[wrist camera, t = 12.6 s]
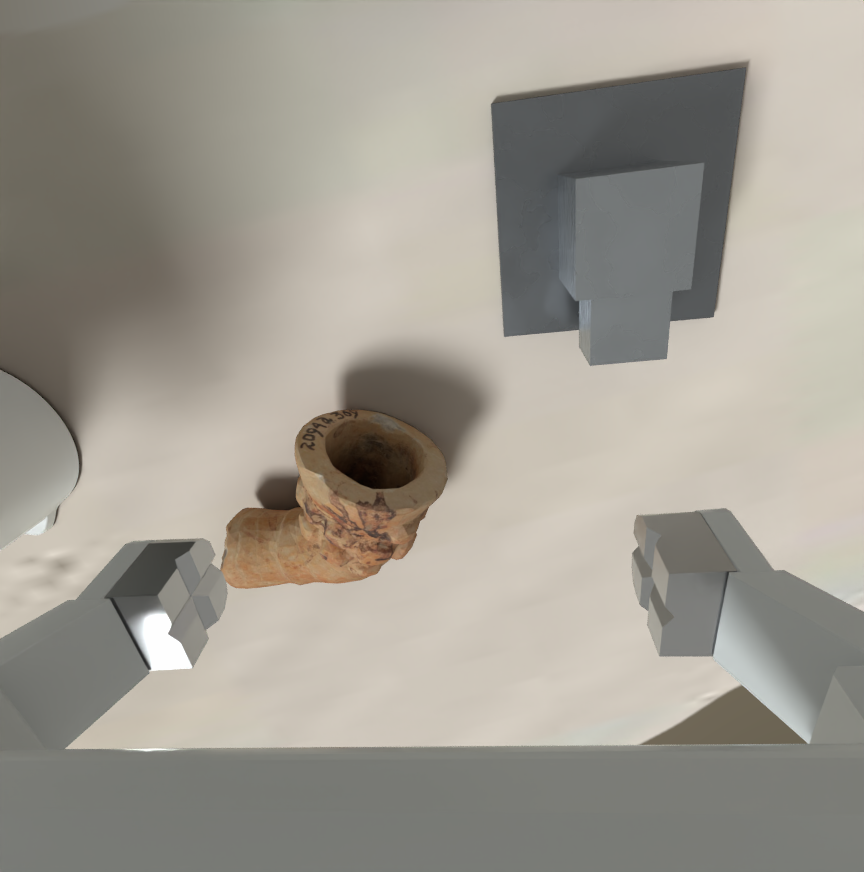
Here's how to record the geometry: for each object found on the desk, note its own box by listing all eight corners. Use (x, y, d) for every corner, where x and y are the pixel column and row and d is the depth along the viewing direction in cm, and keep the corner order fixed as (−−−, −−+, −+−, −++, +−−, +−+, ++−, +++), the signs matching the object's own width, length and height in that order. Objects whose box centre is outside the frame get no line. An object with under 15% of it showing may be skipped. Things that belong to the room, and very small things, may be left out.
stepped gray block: (558, 174, 32) (575, 179, 27) (664, 160, 32) (704, 162, 26) (559, 336, 37) (575, 368, 32) (651, 327, 36) (684, 358, 31)
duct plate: (503, 334, 38) (507, 352, 34) (491, 104, 31) (493, 98, 28) (710, 314, 36) (735, 332, 33) (741, 69, 30) (777, 57, 26)
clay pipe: (458, 497, 49) (438, 372, 39) (463, 606, 42) (440, 488, 31) (263, 515, 51) (191, 399, 40) (235, 621, 43) (138, 515, 33)
